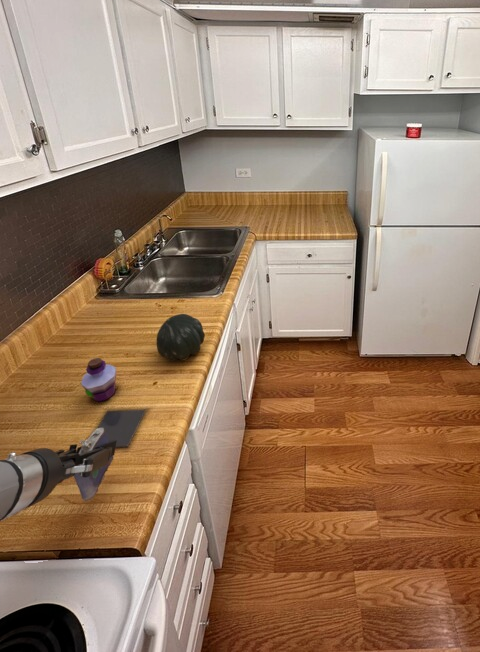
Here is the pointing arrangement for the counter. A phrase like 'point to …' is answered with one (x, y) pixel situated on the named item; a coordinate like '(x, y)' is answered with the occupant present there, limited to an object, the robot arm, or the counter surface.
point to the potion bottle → (99, 380)
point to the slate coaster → (121, 425)
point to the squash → (180, 337)
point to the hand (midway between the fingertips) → (105, 448)
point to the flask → (93, 482)
